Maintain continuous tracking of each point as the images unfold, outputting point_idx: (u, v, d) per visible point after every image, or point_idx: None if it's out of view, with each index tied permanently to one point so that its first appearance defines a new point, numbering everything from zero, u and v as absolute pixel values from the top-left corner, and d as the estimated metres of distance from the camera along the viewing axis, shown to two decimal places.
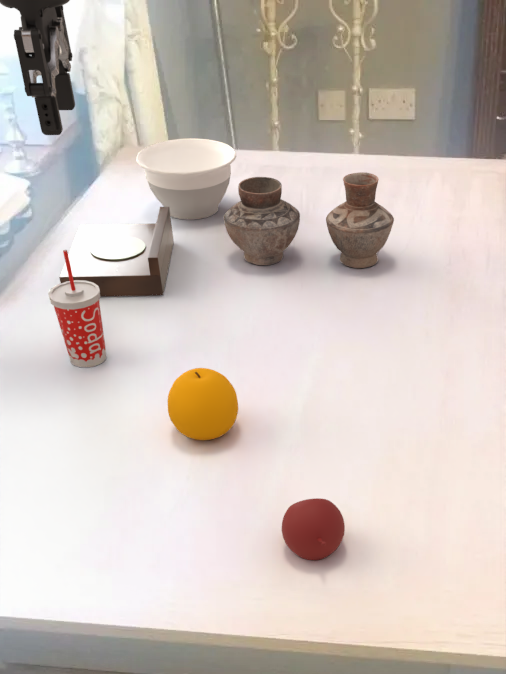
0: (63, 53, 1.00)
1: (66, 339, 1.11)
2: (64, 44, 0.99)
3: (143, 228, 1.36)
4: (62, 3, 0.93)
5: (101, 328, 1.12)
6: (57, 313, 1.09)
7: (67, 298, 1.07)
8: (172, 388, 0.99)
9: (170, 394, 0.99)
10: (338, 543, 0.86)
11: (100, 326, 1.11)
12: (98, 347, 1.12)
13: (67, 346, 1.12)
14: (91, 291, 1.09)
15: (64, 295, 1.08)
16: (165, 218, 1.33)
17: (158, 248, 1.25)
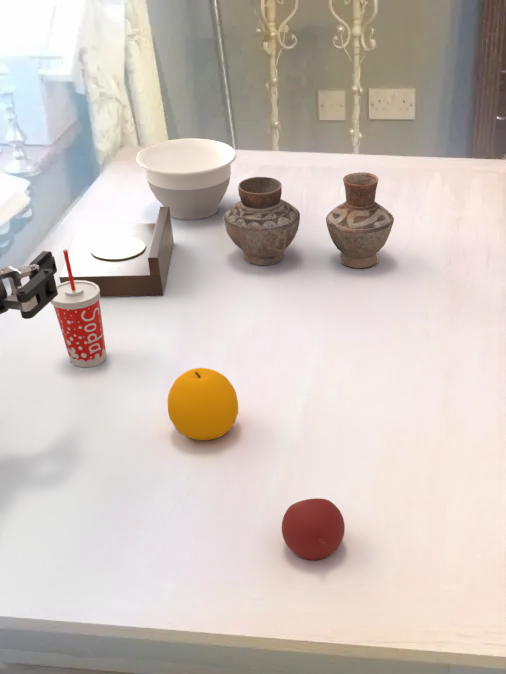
0: None
1: (66, 339, 1.11)
2: None
3: (143, 228, 1.36)
4: None
5: (101, 328, 1.12)
6: (57, 313, 1.09)
7: (67, 298, 1.07)
8: (172, 388, 0.99)
9: (170, 394, 0.99)
10: (338, 543, 0.86)
11: (100, 326, 1.11)
12: (98, 347, 1.12)
13: (67, 346, 1.12)
14: (91, 291, 1.09)
15: (64, 295, 1.08)
16: (165, 218, 1.33)
17: (158, 248, 1.25)
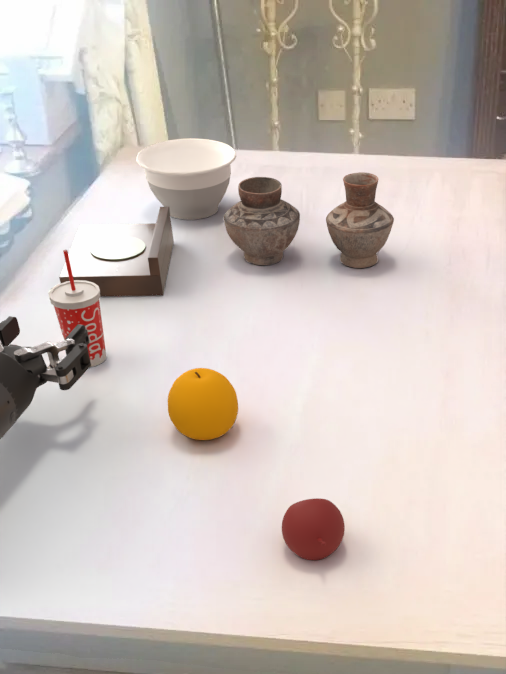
0: None
1: None
2: None
3: (143, 228, 1.36)
4: None
5: (101, 328, 1.12)
6: (57, 313, 1.09)
7: (68, 298, 1.07)
8: (172, 388, 0.99)
9: (170, 394, 0.99)
10: (338, 543, 0.86)
11: (100, 326, 1.11)
12: (98, 347, 1.12)
13: None
14: (91, 291, 1.09)
15: (64, 295, 1.08)
16: (165, 218, 1.33)
17: (158, 248, 1.25)
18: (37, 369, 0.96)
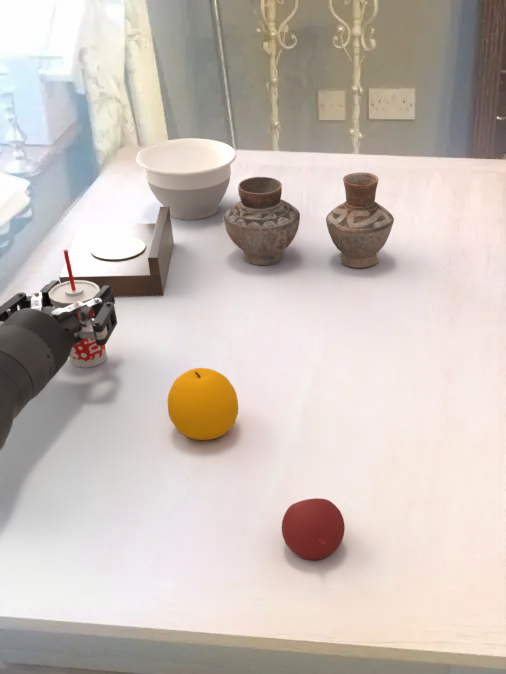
0: None
1: None
2: None
3: (143, 228, 1.36)
4: None
5: None
6: None
7: (68, 298, 1.07)
8: (172, 388, 0.99)
9: (170, 394, 0.99)
10: (338, 543, 0.86)
11: None
12: (98, 347, 1.12)
13: None
14: (92, 291, 1.09)
15: (64, 295, 1.08)
16: (165, 218, 1.33)
17: (158, 248, 1.25)
18: (73, 328, 1.02)
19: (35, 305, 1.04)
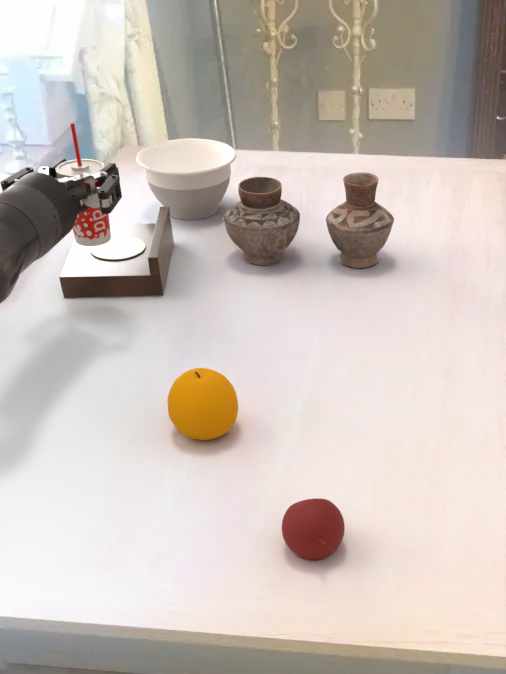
0: None
1: None
2: None
3: (143, 228, 1.36)
4: None
5: None
6: None
7: (74, 172, 1.10)
8: (172, 388, 0.99)
9: (170, 394, 0.99)
10: (338, 543, 0.86)
11: None
12: (103, 225, 1.15)
13: None
14: (97, 167, 1.12)
15: (70, 170, 1.11)
16: (165, 218, 1.33)
17: (158, 248, 1.25)
18: (79, 195, 1.05)
19: None
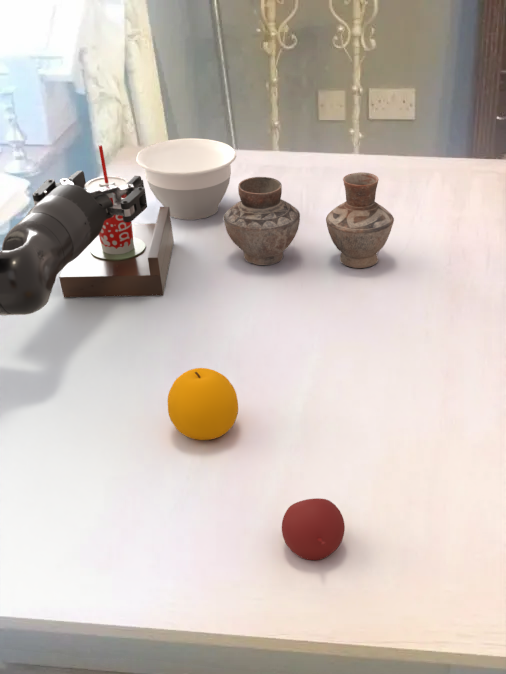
0: None
1: None
2: None
3: (143, 228, 1.36)
4: None
5: None
6: None
7: None
8: (172, 388, 0.99)
9: (170, 394, 0.99)
10: (338, 543, 0.86)
11: None
12: (127, 235, 1.28)
13: (100, 234, 1.28)
14: (122, 184, 1.25)
15: (98, 186, 1.24)
16: (165, 218, 1.33)
17: (158, 248, 1.25)
18: (105, 203, 1.18)
19: None
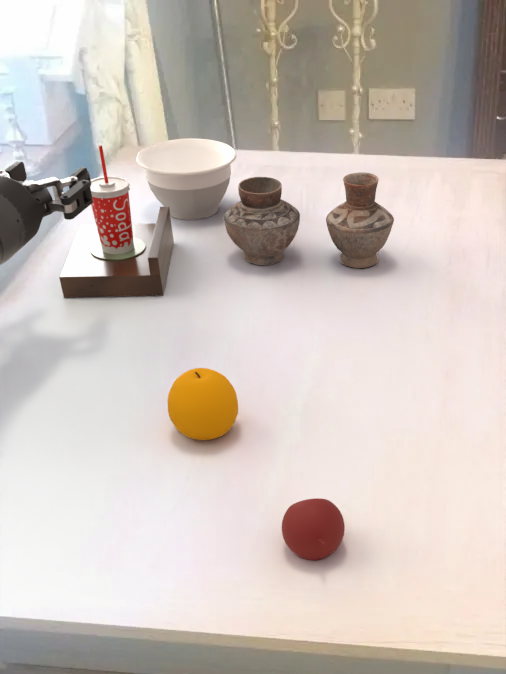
0: None
1: (99, 228, 1.27)
2: None
3: (143, 228, 1.36)
4: None
5: (130, 219, 1.28)
6: (92, 203, 1.25)
7: (101, 189, 1.24)
8: (172, 388, 0.99)
9: (170, 394, 0.99)
10: (338, 543, 0.86)
11: (129, 216, 1.27)
12: (127, 235, 1.28)
13: (100, 234, 1.28)
14: (122, 184, 1.25)
15: (98, 186, 1.24)
16: (165, 218, 1.33)
17: (158, 248, 1.25)
18: (43, 198, 1.04)
19: None
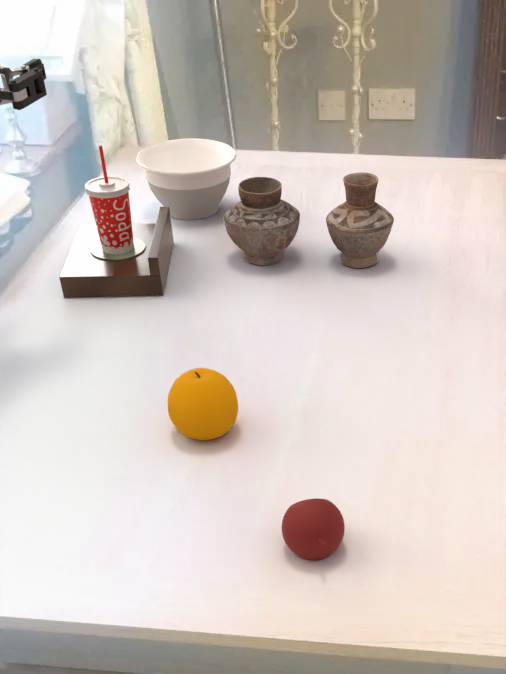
0: None
1: (99, 228, 1.27)
2: None
3: (143, 228, 1.36)
4: None
5: (130, 219, 1.28)
6: (92, 203, 1.25)
7: (101, 189, 1.24)
8: (172, 388, 0.99)
9: (170, 394, 0.99)
10: (338, 543, 0.86)
11: (129, 216, 1.27)
12: (127, 235, 1.28)
13: (100, 234, 1.28)
14: (122, 184, 1.25)
15: (98, 186, 1.24)
16: (165, 218, 1.33)
17: (158, 248, 1.25)
18: None
19: None
